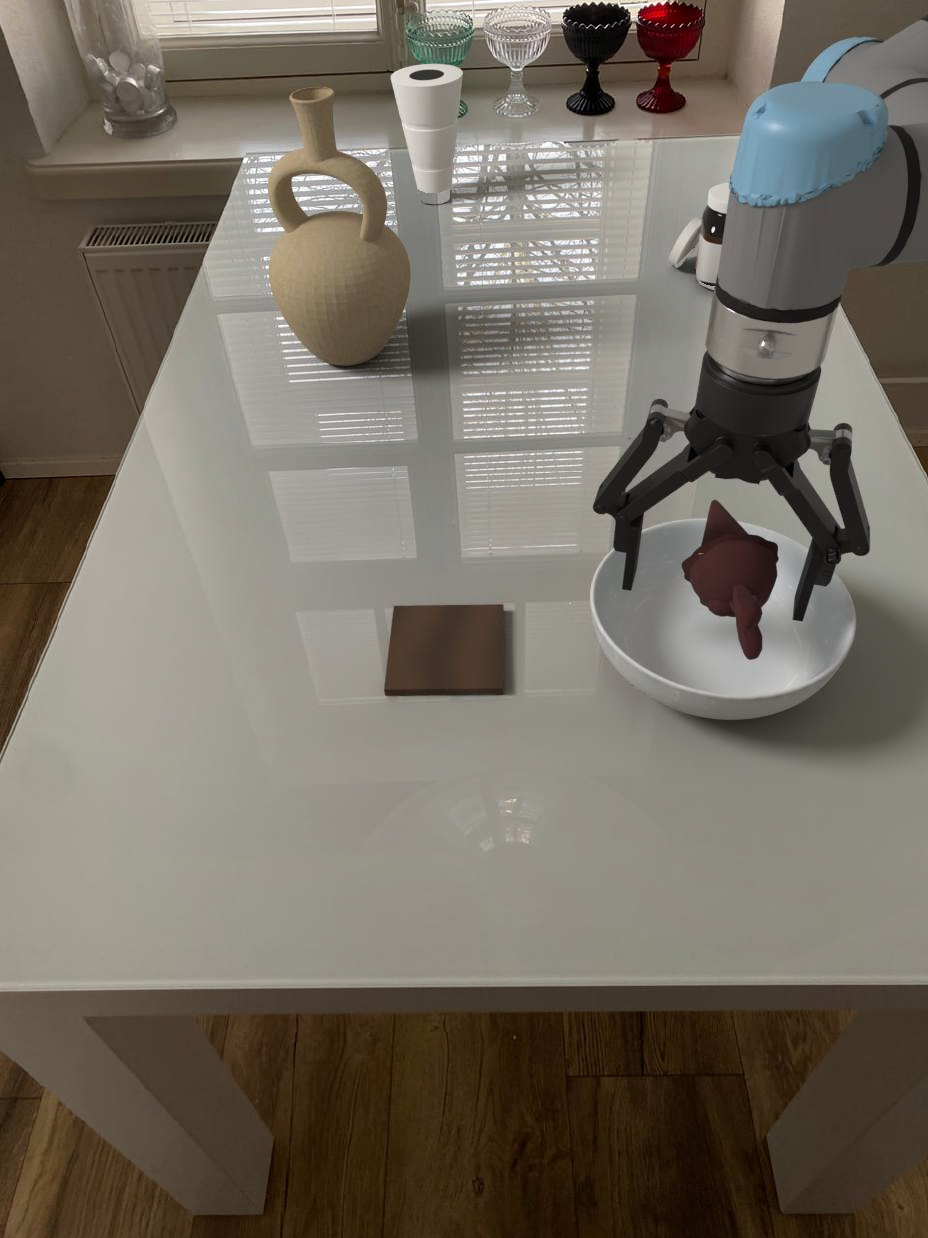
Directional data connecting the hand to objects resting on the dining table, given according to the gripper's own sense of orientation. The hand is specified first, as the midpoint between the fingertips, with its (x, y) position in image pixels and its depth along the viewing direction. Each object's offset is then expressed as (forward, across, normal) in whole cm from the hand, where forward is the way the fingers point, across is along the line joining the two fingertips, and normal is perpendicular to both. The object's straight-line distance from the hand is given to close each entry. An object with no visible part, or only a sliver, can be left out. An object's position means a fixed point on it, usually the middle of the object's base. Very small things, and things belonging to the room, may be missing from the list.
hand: (712, 594), depth 77 cm
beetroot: (0, +1, 0) cm, 1 cm away
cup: (+8, -53, +89) cm, 104 cm away
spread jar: (+7, -7, +70) cm, 71 cm away
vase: (+8, -48, +41) cm, 64 cm away
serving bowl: (+7, +1, 0) cm, 7 cm away
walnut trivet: (+8, -21, -5) cm, 23 cm away
